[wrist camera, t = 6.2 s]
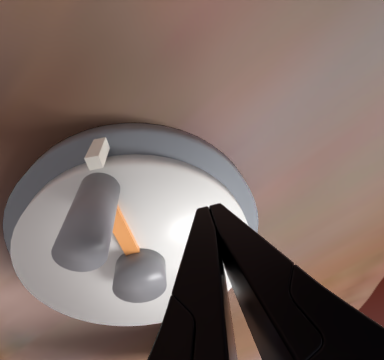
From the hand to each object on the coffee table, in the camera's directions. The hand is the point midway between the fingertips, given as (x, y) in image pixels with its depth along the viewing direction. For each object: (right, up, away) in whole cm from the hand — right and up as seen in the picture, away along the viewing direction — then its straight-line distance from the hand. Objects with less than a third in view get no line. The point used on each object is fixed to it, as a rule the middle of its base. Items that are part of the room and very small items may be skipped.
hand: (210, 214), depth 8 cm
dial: (-4, -3, +8) cm, 9 cm away
